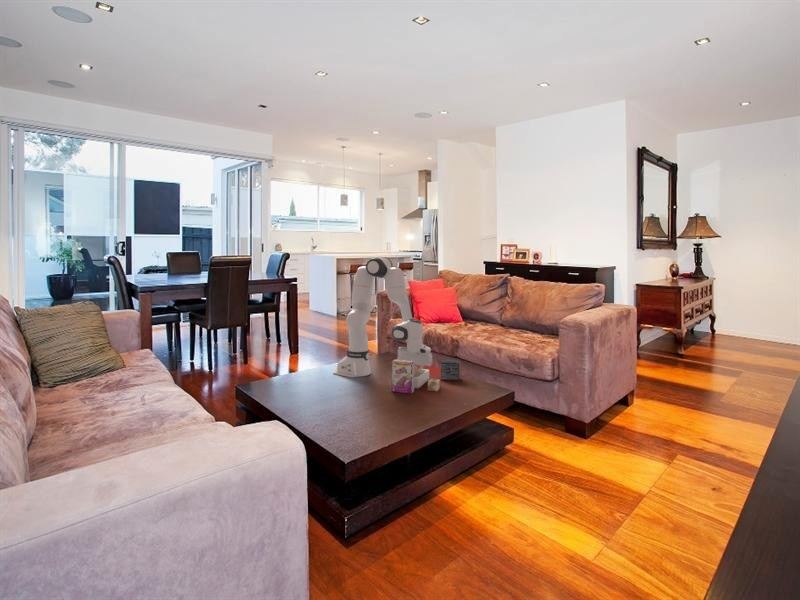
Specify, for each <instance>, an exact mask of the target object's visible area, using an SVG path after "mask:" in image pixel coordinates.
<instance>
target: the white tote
mask: <svg viewBox="0 0 800 600" xmlns="http://www.w3.org/2000/svg"><path fill="white" fill-rule="evenodd" d="M429 380H430V369H425V368H422V372H421V373H419V377H414V389H420V388H421V387H423V385H424V384H426V383H428V381H429Z"/></svg>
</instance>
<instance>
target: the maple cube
mask: <svg viewBox="0 0 800 600" xmlns="http://www.w3.org/2000/svg"><path fill="white" fill-rule="evenodd" d="M440 382H441V379H438V378H437V379H436V378H429V380H428V381H427V391H433V392H438V391H439V390H440V385H441V383H440Z"/></svg>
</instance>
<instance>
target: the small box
mask: <svg viewBox="0 0 800 600" xmlns="http://www.w3.org/2000/svg"><path fill="white" fill-rule="evenodd" d="M449 380H450V381H452V382H453V381H455V382H459V381H460V360H455V359H454V360H453V359H452V360H450V359H441V360H440V381H449Z"/></svg>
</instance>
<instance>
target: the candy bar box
mask: <svg viewBox="0 0 800 600" xmlns="http://www.w3.org/2000/svg"><path fill="white" fill-rule="evenodd" d="M414 369H415V362H414V361H406V360H397V358H396V359H393V360H392V361H391V392H393V393H400V394H401V393H402V394H409V395H412V394H413V393H414V392H415V388H414Z"/></svg>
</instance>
